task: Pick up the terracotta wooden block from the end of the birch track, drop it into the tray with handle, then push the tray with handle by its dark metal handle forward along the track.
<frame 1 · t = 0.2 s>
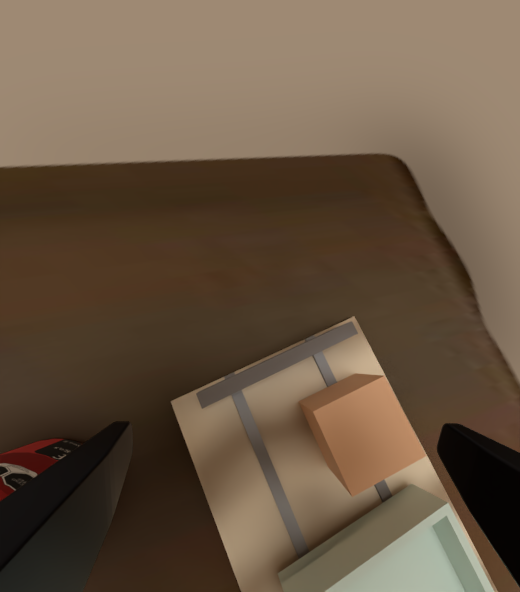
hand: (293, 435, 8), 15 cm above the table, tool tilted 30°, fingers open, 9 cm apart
block: (342, 418, 22), point 1 cm above the table, tilted 7°, touching track
canned food: (53, 498, 19), on the table
track: (346, 530, 21), on the table
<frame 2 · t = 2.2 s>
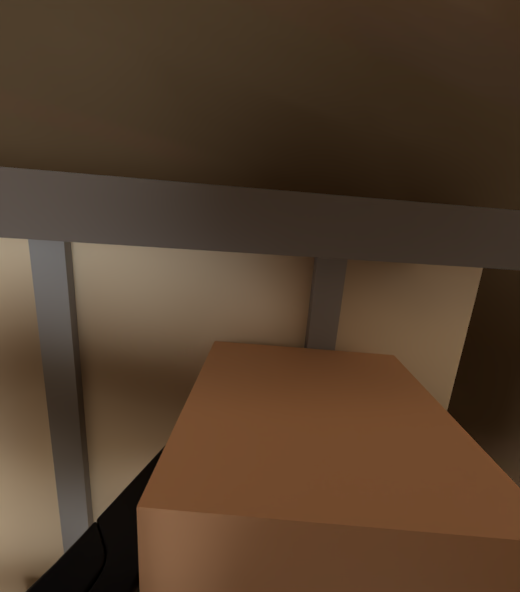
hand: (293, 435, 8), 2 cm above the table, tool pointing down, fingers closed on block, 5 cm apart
block: (294, 425, 9), point 1 cm above the table, tilted 6°, touching gripper, track
track: (193, 564, 11), on the table
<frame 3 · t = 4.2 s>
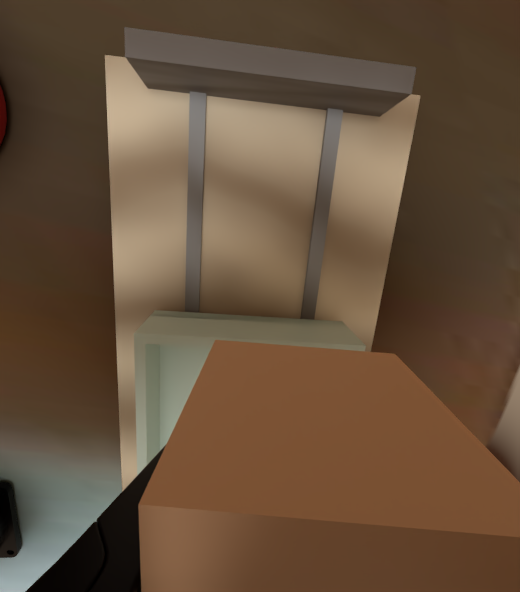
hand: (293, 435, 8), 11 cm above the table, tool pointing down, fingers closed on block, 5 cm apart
block: (295, 424, 9), point 11 cm above the table, tilted 6°, touching gripper
tray with handle: (244, 454, 15), point 5 cm above the table, slide at -5.0 cm
track: (249, 323, 19), on the table
when the fingers open (6 cm above the table, at t = 5.9 s): block drops 3 cm, resting on tray with handle.
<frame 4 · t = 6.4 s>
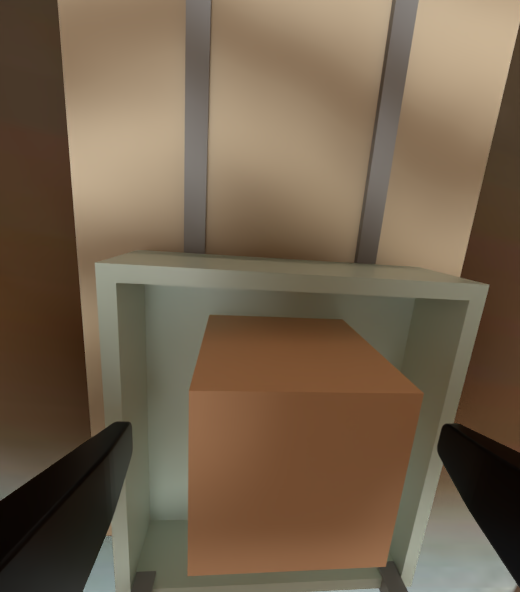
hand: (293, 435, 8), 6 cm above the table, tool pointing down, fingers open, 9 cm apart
block: (272, 377, 12), point 2 cm above the table, touching tray with handle
tray with handle: (286, 472, 9), point 5 cm above the table, slide at -5.0 cm, touching block
track: (276, 277, 13), on the table
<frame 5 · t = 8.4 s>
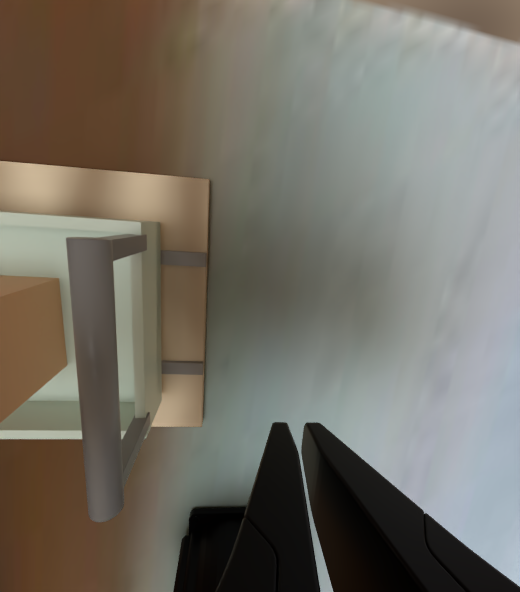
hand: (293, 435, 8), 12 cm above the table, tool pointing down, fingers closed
block: (13, 321, 16), point 2 cm above the table, touching tray with handle
tray with handle: (5, 339, 13), point 5 cm above the table, slide at -5.0 cm, touching block
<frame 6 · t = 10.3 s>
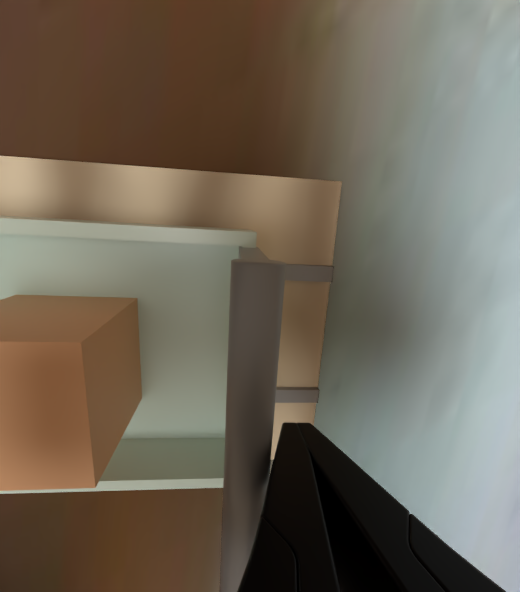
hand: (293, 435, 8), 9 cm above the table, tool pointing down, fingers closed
block: (83, 349, 13), point 2 cm above the table, touching tray with handle
tray with handle: (90, 377, 11), point 5 cm above the table, slide at -3.2 cm, touching block, gripper
track: (71, 325, 16), on the table
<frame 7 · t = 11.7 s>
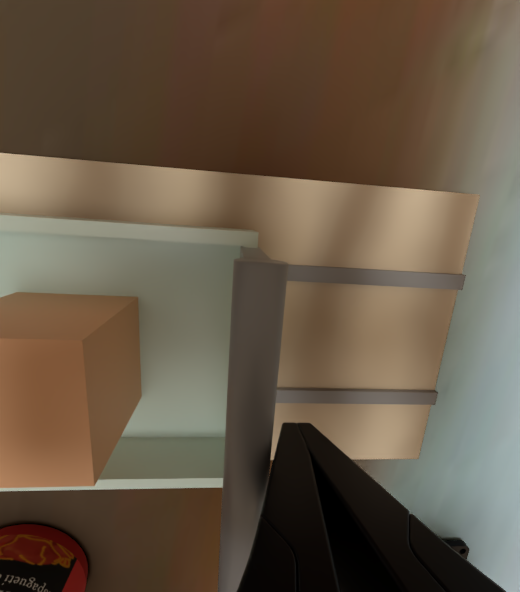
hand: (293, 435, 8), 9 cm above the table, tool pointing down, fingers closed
block: (83, 347, 13), point 2 cm above the table, touching tray with handle
tray with handle: (90, 376, 11), point 5 cm above the table, slide at 4.0 cm, touching block, gripper
canned food: (33, 563, 20), on the table
track: (208, 328, 16), on the table
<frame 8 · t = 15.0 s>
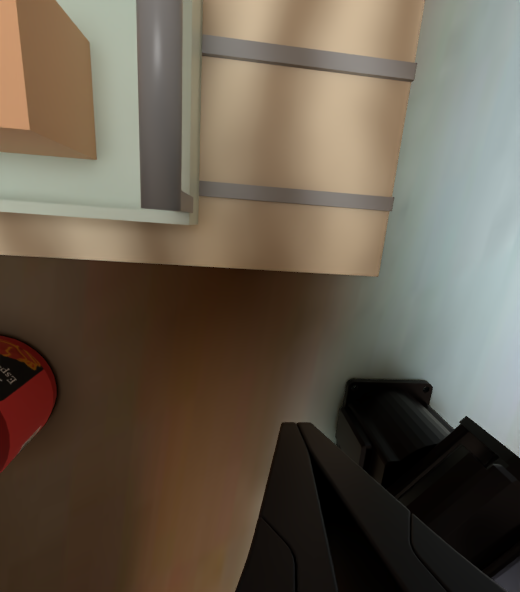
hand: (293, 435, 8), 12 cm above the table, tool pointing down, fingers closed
block: (37, 98, 14), point 2 cm above the table, touching tray with handle
tray with handle: (33, 65, 11), point 5 cm above the table, slide at 4.0 cm, touching block
canned food: (3, 384, 20), on the table
track: (168, 122, 17), on the table
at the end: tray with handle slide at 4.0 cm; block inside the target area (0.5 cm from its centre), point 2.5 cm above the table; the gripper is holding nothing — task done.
